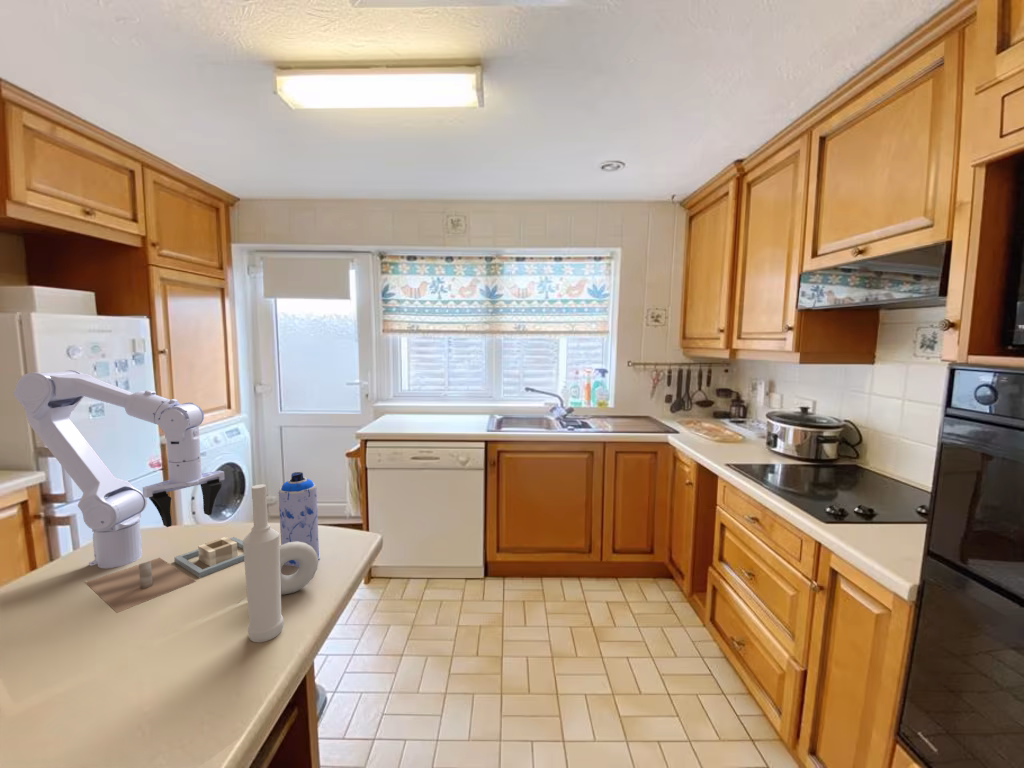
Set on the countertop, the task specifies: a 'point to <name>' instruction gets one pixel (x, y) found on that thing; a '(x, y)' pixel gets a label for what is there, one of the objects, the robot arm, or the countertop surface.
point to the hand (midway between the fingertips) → (188, 519)
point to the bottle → (262, 572)
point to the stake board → (139, 584)
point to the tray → (203, 572)
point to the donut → (306, 567)
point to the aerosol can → (299, 513)
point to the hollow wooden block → (217, 551)
